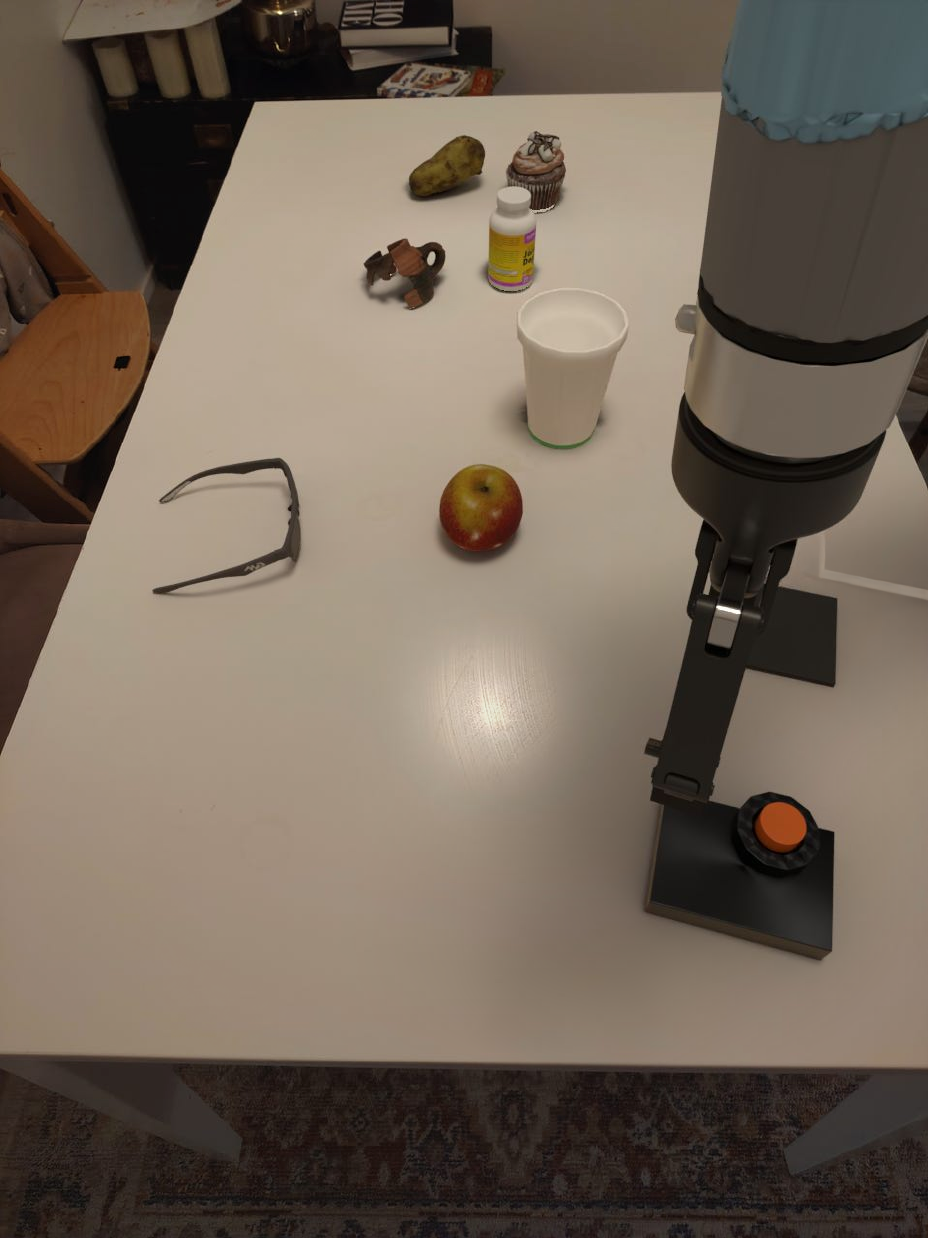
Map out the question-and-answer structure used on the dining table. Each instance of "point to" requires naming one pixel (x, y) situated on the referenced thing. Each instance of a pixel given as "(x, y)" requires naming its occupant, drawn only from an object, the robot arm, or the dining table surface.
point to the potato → (448, 166)
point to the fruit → (481, 508)
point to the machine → (744, 877)
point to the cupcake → (538, 169)
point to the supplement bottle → (512, 240)
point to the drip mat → (798, 637)
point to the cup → (568, 361)
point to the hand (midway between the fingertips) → (704, 699)
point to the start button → (780, 827)
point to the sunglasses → (286, 551)
